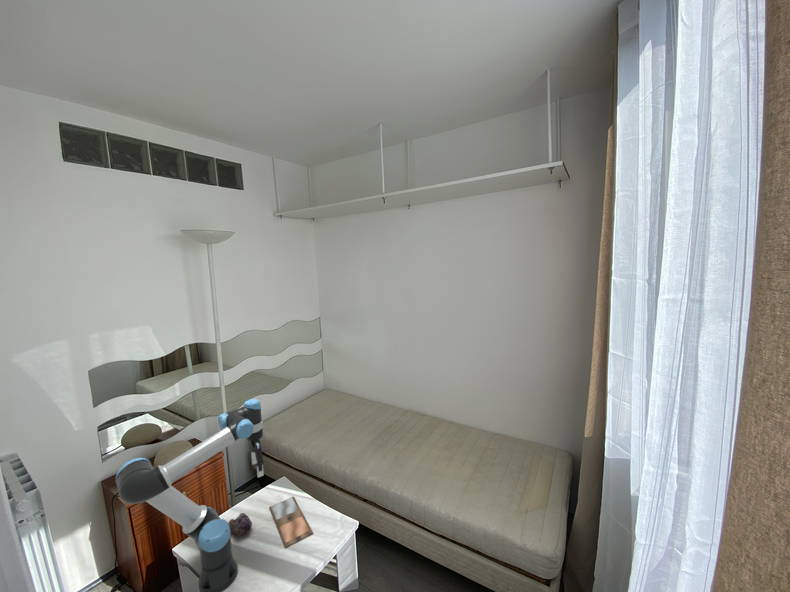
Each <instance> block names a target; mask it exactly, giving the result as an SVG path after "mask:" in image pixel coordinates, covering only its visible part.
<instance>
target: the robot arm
mask: <svg viewBox="0 0 790 592" xmlns="http://www.w3.org/2000/svg"><path fill="white" fill-rule="evenodd" d="M243 403H244V404H243V406H242V407H239V408H236V409H233V410H230V411H226V412H224V413H221V414H219V415H218V417H217V424H218V427H219V429H220V430H219V431H218V432H216V433H214V434H213V435H210V436H209V437H208V438H206V439H205V440H203V441H201V442H200V443H198V444H197V445H195V446H193V447H191V448H190V449H188V450H187V451H185V452H184V453H182V454H180V455H178V456H177V457H176V458H173V459H172V460H170V461H168V462H167V463H165V464H163V465H157V466H153V465H152V462H151V461H150V460H149V459H147V458H145V457H137V458H133V459H129V460H128V461H127V462H125V463H124V464H122V466H120V468H118V471H117V473H116V475H115V484H116V487H117V490H118V495H119V498H120V500H121V501H122V502H124V503H125V504H129V505H137V504H141V503H145V502H146V503H147V504H149V505H150V506H152V507H153V508H155V509H156V510H158V511H159V512H161V513H162V514H164V515H165V516H167V517H168V518H169V519H171V520H173V521H174V522H176V523H177V524H179V525H180V526H181V527H182V533H184V534H185V535H187V536H188V537H190V539H192V540H193V541H194V543H195V546H196V547H197V550H198V551H199V555H200V564H201V570H200V574H199V579H198V582H197V583H198V590H199V592H222V591H224V590H227V588H229V587H230V586H231V584H232V583H233V582H234V581H235V580H236V578H237V576H238V573H239V568H238V567H239V566H238V562H237V560H236V558H235V557H234V555H233V550H232V539H231V538H232V537H231V531H230V527H229V524H228V523H229V521H227V520H226V519H223V518H222V519H221V518H220V516H219V514H218V511H216V509H214V508H212V507H210V506H207V505H205V504H201V505H198V504H197V503H195V502H194V501H193V500H191V499H190V498H188V497H187V496H186V495H185V494H183V493H182V492H181V491H179V490H178V489H176V488H175V487H174V486H173V485H172V484H173V483H174V482H175V481H177V480H178V479H180V478H182V477H183V476H185V475H186V474H188V473H189V472H190V471H192V470H194V469H195V468H196V467H198V466H200V465H201V464H203V463H204V462H205V461H207V460H209V459H210V458H212V457H214V456H215V455H216V454H218V453H219V452H222V450H223V449H226V448H227V447H228V446H230V445H231V444H233V443H234V442H236V441H237V440H239V439H242V440H243V439H247V441H250V443H249V445H250V446H249V447H250V451H251V452H250V453H251V454H250V455H251V464H252V465H255V467H256V475H257V478H261V477H263V476H264V475H265V473H264V463H265V462H264V458H263V452H262V444H261V440H260V439H261V438H263V436H264V430H263V423H264V421H263V420H262V407H261V406H262V405H261V401H260V400H259V399H257V398H250V399H247V400H245V402H243Z"/></svg>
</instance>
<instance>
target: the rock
mask: <svg viewBox="0 0 790 592" xmlns="http://www.w3.org/2000/svg"><path fill="white" fill-rule="evenodd" d="M228 524H229V527H230V533H234V534H236V536H239V537H242V536H243V535H244V534H245V533H247V532H248V531H249V530H251V527H252V525H253V522H252V520H251V519H250V517H249V515H247V514H246V513H244V512H241V513H240V514H238V517H236V519H234V518H232V519H230V520H229V521H228Z"/></svg>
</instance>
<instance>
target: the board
mask: <svg viewBox="0 0 790 592" xmlns="http://www.w3.org/2000/svg"><path fill="white" fill-rule="evenodd" d="M268 509H269V511H270V513H271V516H272V519H273V521H274V524H275V526H276V529H277V531H278V533H279V536H280V538H281V542H282V544H283V546H284V548H285V549H287V548H289V547H291V546H293V545H295V544H296V543H299V542H301V541H302V540H305V539H307V538H308V537H310V536H312V535H314V532H313V529H312V527H311V526H310V523H309V522H308V521H307V519H306V517H305V515H304V513H303V511H302V509H301V508H300V506H299V503H298V502H297V499H296V498H295V497H294V496H291V497H290V498H287V499H285V500H283V501H280V502H278V503H276V504H274V505H271V506H269V507H268Z"/></svg>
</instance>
